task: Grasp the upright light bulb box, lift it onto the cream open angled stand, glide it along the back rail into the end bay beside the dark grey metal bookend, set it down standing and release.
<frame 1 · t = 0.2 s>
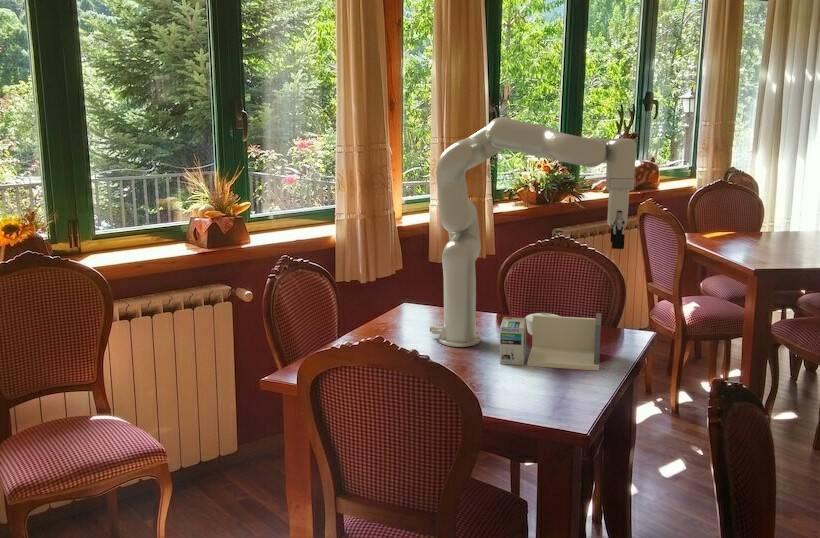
hand: (617, 245, 222), 31 cm above the table, fingers open, 9 cm apart
light bulb box: (513, 359, 223), on the table
ramekin: (543, 334, 246), on the table
cream open angled stand: (564, 357, 224), on the table
bookend: (596, 361, 220), resting on cream open angled stand
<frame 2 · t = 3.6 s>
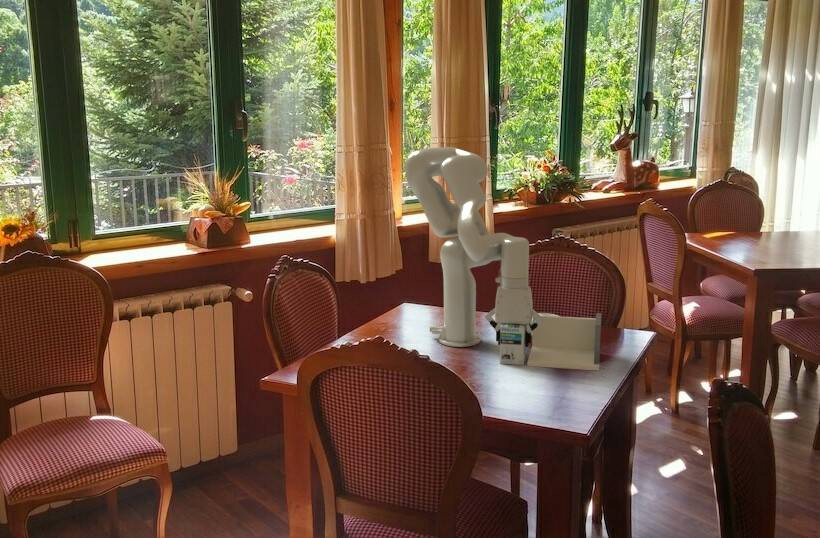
hand: (513, 344, 222), 4 cm above the table, fingers closed on light bulb box, 6 cm apart
light bulb box: (513, 359, 223), on the table, touching gripper
everything else where it was.
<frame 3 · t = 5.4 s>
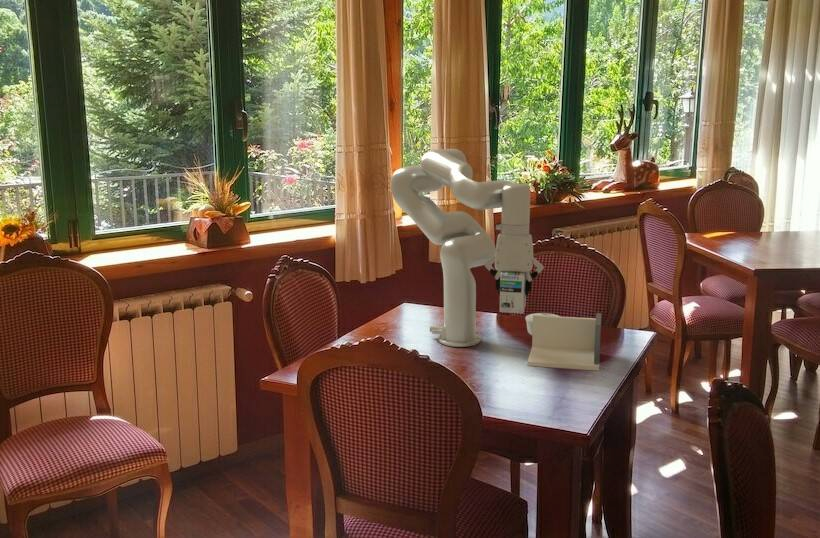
hand: (513, 293, 219), 19 cm above the table, fingers closed on light bulb box, 6 cm apart
light bulb box: (512, 308, 220), point 14 cm above the table, touching gripper
everything else where it was.
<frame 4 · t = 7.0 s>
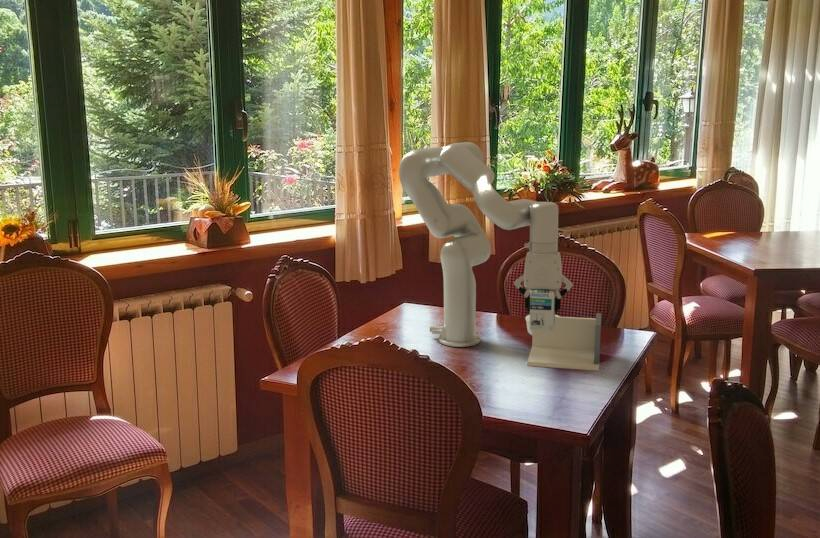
hand: (542, 310, 220), 14 cm above the table, fingers closed on light bulb box, 6 cm apart
light bulb box: (542, 326, 221), point 9 cm above the table, touching gripper
everything else where it was.
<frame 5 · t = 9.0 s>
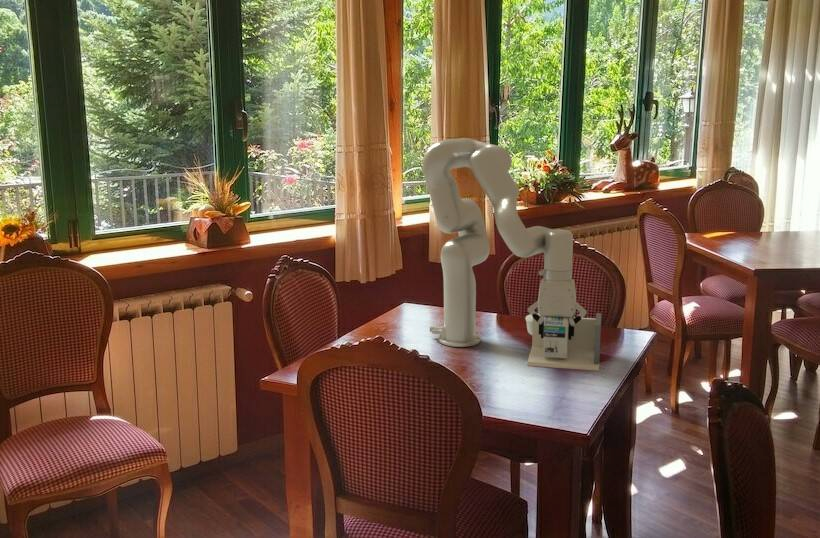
hand: (556, 337, 221), 6 cm above the table, fingers closed on light bulb box, 6 cm apart
light bulb box: (555, 352, 222), point 2 cm above the table, touching gripper
everything else where it was.
when the fingers open (6 cm above the table, at t = 10.5 s): light bulb box stays where it is, resting on cream open angled stand.
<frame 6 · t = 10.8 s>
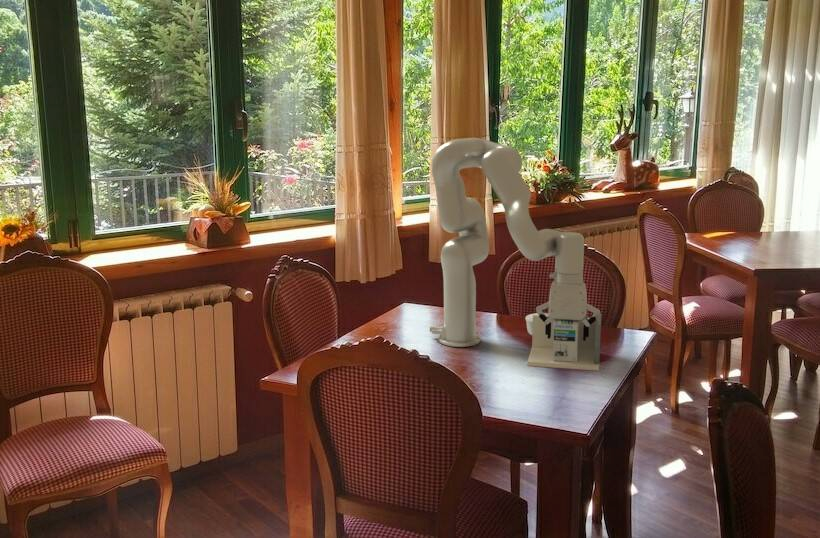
hand: (566, 338, 220), 6 cm above the table, fingers open, 9 cm apart
light bulb box: (565, 356, 221), point 1 cm above the table, touching cream open angled stand
everything else where it was.
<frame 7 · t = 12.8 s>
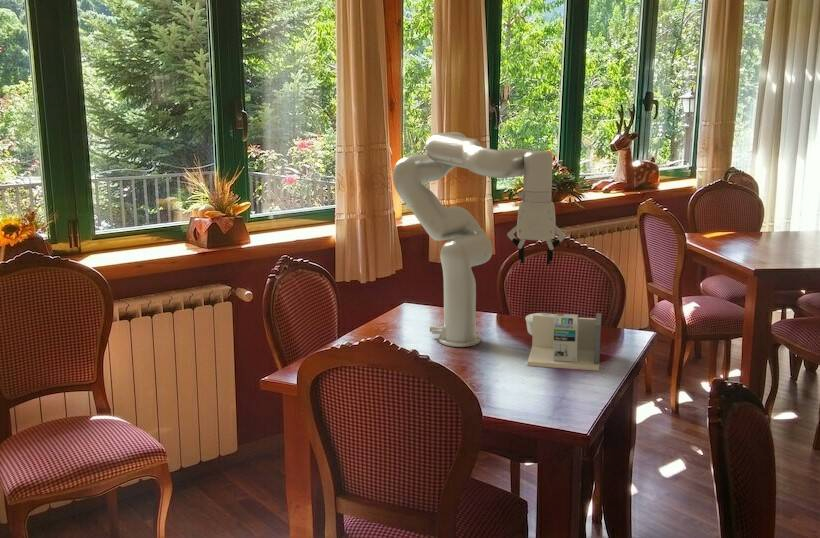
hand: (535, 262, 217), 28 cm above the table, fingers open, 6 cm apart
nothing on the table moved.
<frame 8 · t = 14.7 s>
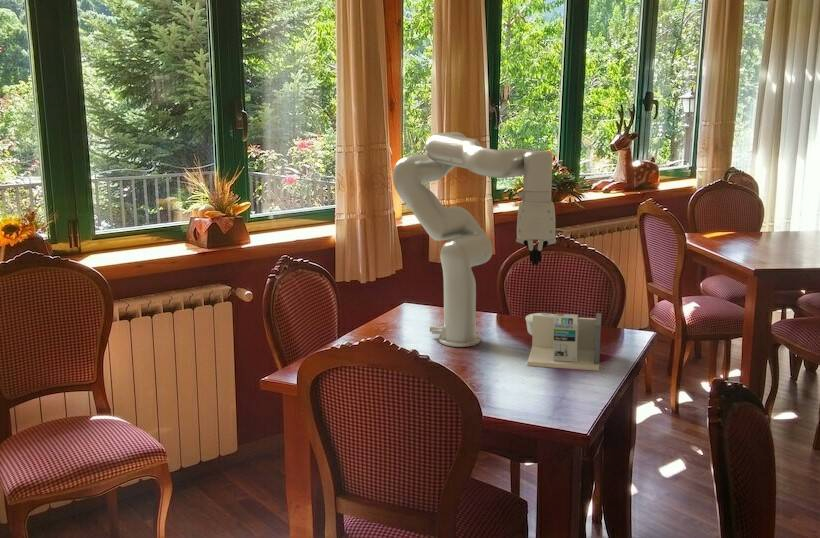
hand: (535, 264, 217), 27 cm above the table, fingers closed
nothing on the table moved.
at the end: light bulb box inside the target area on the cream open angled stand (1.9 cm from its centre), point 1.0 cm above the cream open angled stand's base; light bulb box tilted 0°; the gripper is holding nothing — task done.
